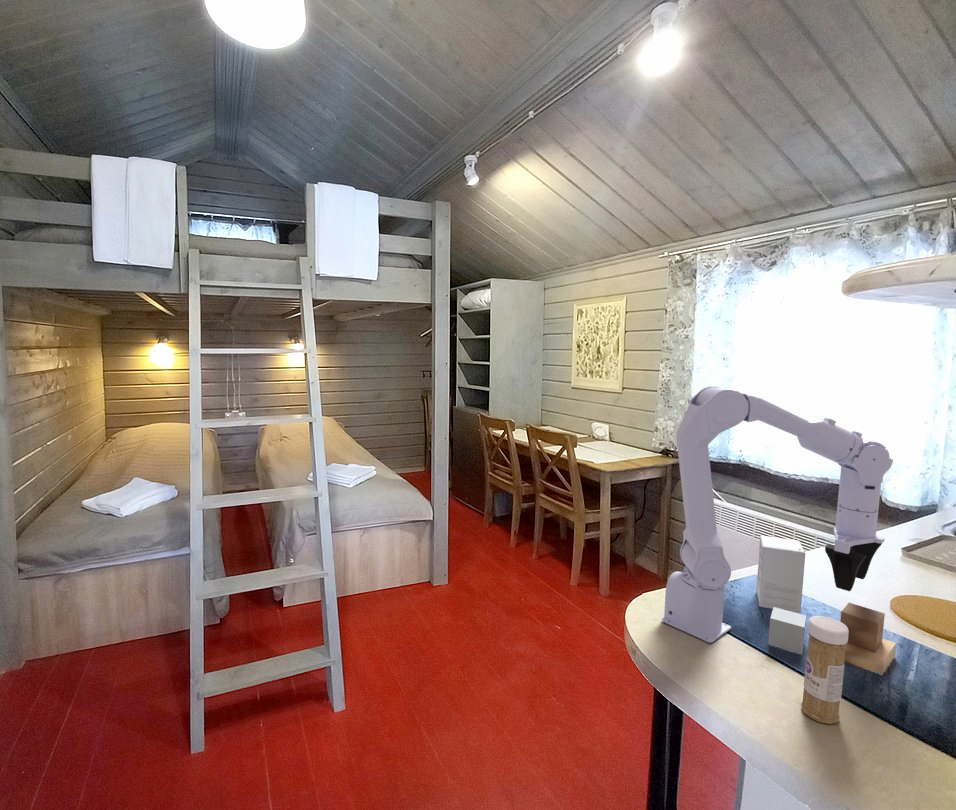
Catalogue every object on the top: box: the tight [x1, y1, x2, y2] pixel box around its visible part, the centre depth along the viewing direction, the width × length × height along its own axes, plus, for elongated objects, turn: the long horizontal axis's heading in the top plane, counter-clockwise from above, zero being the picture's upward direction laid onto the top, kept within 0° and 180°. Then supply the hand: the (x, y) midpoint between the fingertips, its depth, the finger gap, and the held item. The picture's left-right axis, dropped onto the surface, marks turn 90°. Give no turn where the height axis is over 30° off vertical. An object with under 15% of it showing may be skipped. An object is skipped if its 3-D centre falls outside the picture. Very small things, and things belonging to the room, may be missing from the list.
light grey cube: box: [767, 607, 807, 656], centre depth 90 cm, size 5×5×5 cm
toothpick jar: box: [800, 615, 849, 725], centre depth 71 cm, size 5×5×13 cm
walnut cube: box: [839, 602, 886, 653], centre depth 86 cm, size 5×5×5 cm
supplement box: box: [755, 535, 806, 614], centre depth 104 cm, size 7×7×13 cm
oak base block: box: [844, 637, 897, 674], centre depth 87 cm, size 8×8×3 cm
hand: (850, 582), depth 90 cm, fingers open, 7 cm apart
